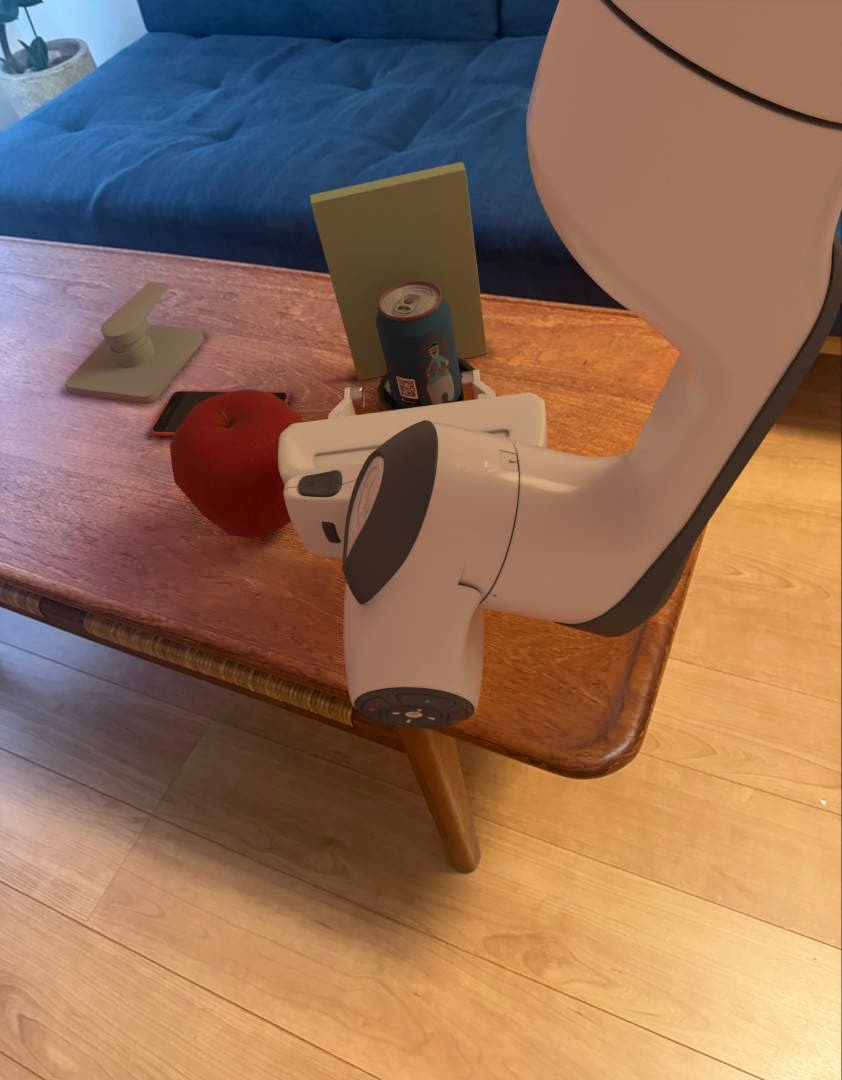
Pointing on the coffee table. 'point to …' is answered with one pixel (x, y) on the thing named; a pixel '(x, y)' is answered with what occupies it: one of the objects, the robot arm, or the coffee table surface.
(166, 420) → the smartphone
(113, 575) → the coffee table surface
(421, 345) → the soda can
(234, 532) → the apple
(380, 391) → the holder
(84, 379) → the shower valve
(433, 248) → the olive green plank
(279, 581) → the coffee table surface
